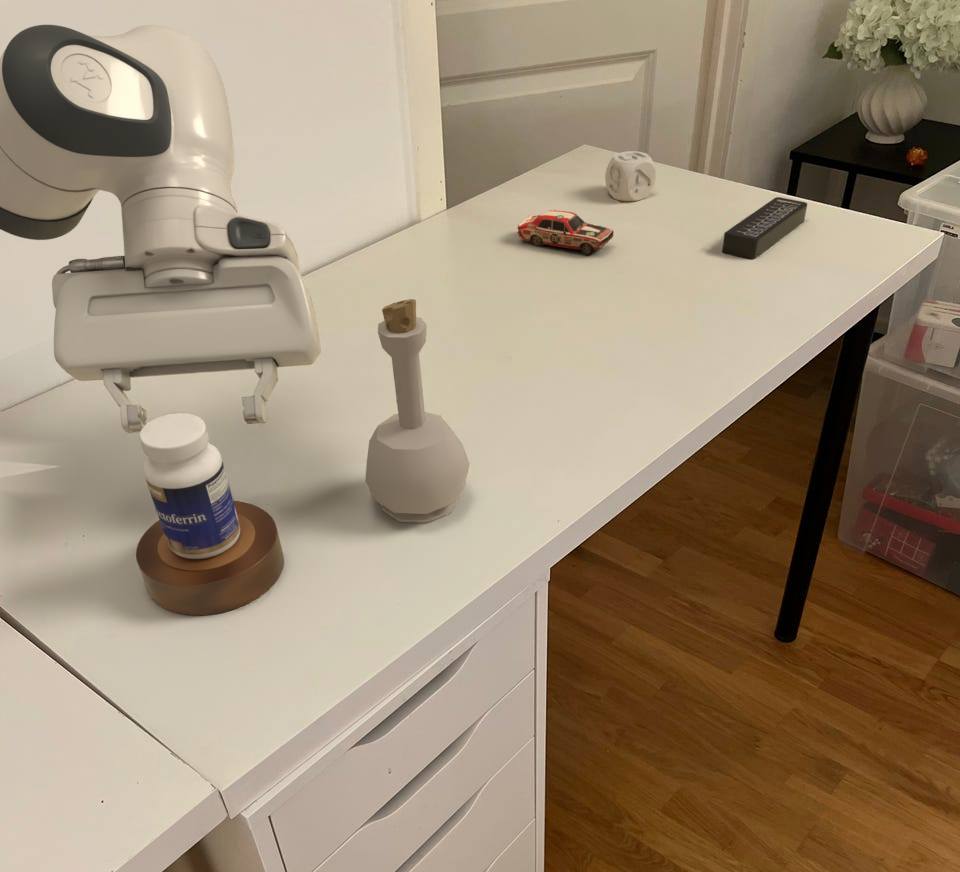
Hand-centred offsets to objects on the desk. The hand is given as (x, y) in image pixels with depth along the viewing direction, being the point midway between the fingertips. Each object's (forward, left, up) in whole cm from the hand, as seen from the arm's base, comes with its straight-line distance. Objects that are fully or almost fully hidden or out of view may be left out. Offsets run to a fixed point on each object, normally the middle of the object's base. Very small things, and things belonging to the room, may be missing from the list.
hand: (195, 426), depth 76 cm
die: (+61, +59, -10) cm, 85 cm away
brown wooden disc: (-1, -6, -10) cm, 11 cm away
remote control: (+71, +39, -10) cm, 82 cm away
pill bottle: (-1, -6, -7) cm, 9 cm away
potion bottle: (+17, -2, -10) cm, 20 cm away
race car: (+47, +46, -10) cm, 67 cm away
